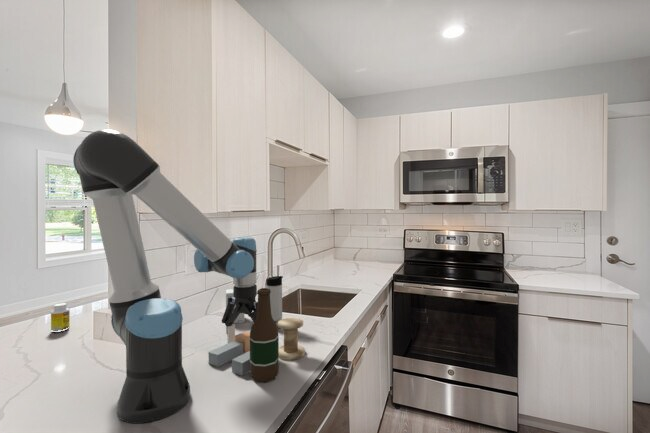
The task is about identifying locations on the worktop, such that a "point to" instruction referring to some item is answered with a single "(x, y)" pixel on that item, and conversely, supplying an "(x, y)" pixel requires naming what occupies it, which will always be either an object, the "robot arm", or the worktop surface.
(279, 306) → the travel mug
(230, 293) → the supplement box
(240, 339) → the block
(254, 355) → the beer bottle
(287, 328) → the bobbin
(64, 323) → the supplement bottle
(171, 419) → the worktop surface
